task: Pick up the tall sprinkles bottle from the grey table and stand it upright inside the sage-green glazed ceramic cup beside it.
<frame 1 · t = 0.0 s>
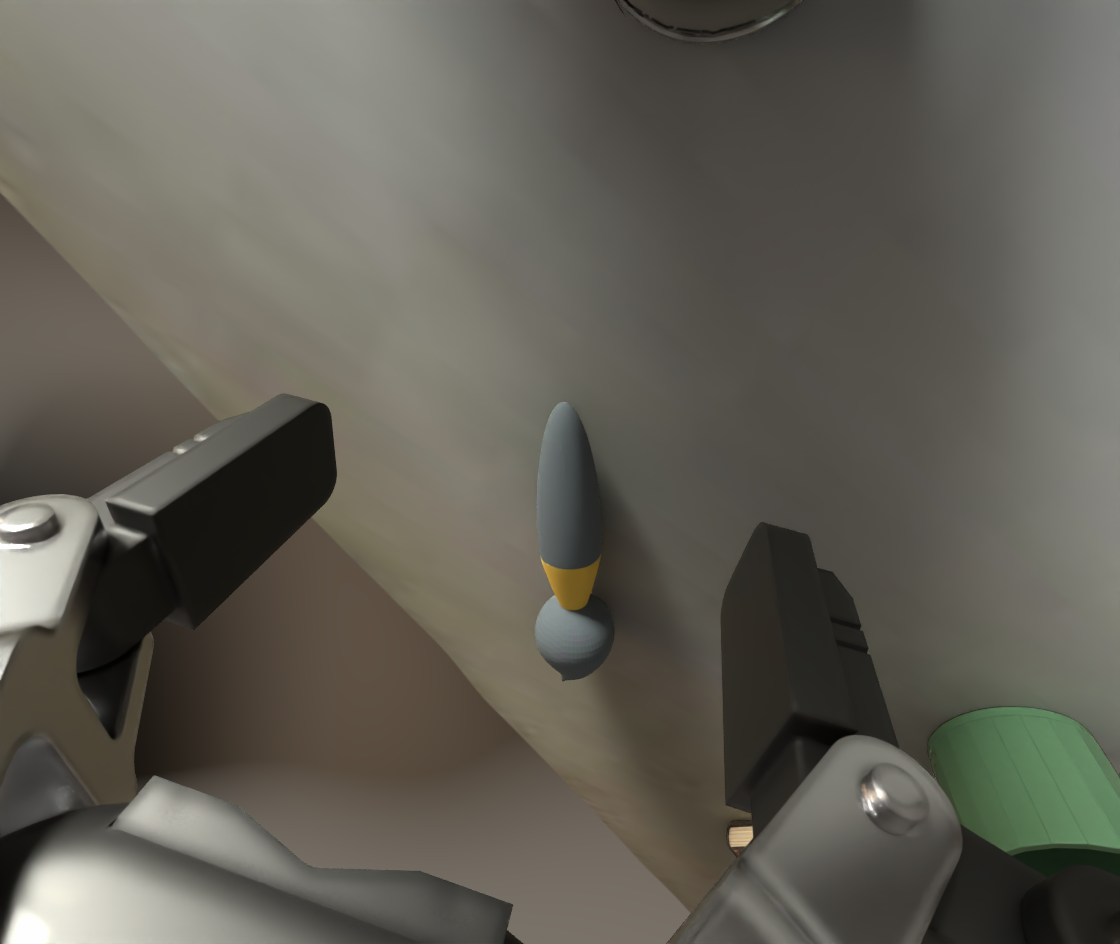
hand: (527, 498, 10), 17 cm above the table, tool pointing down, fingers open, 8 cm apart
hardcover book: (870, 885, 46), on the table
cup: (1007, 750, 34), on the table
paintbrush: (572, 539, 33), on the table
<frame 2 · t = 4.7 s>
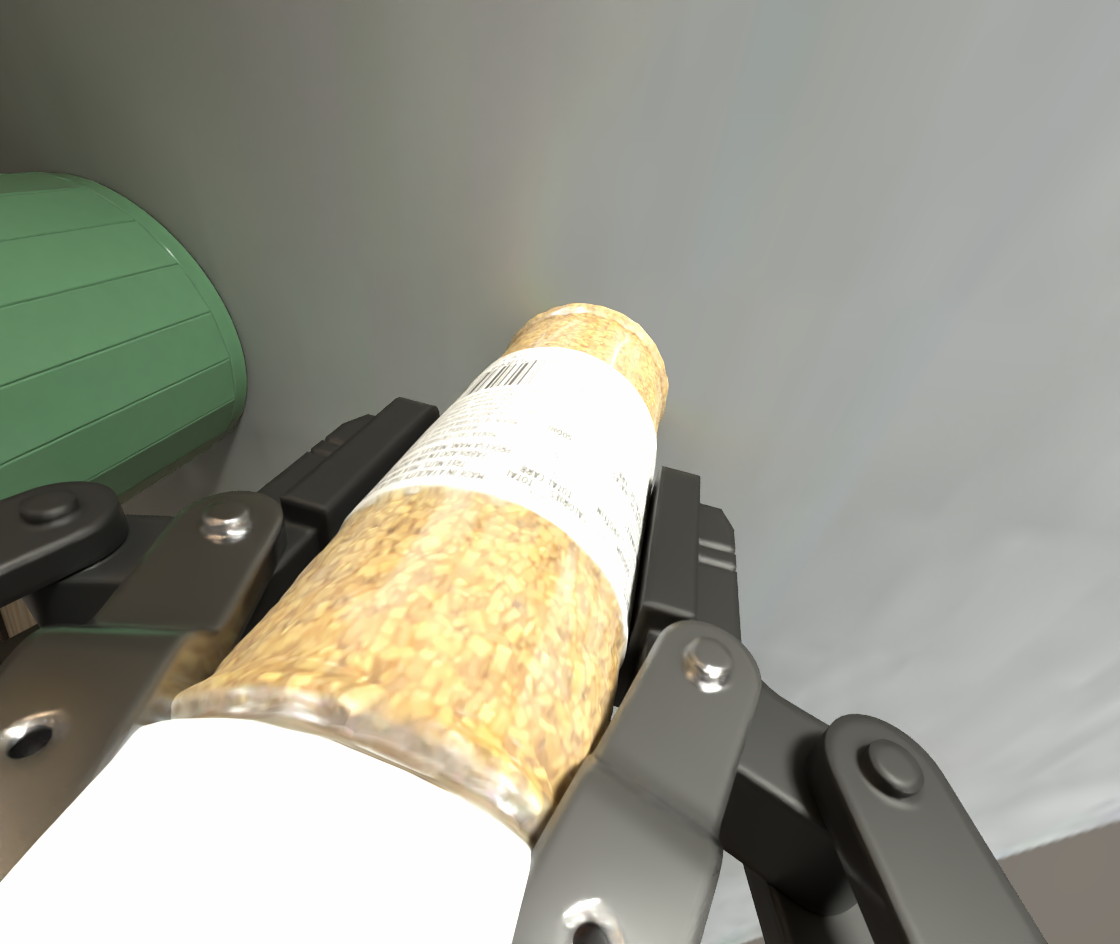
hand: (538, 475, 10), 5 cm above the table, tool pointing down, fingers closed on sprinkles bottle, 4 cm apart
cup: (123, 327, 17), on the table
sprinkles bottle: (587, 379, 15), on the table, touching gripper
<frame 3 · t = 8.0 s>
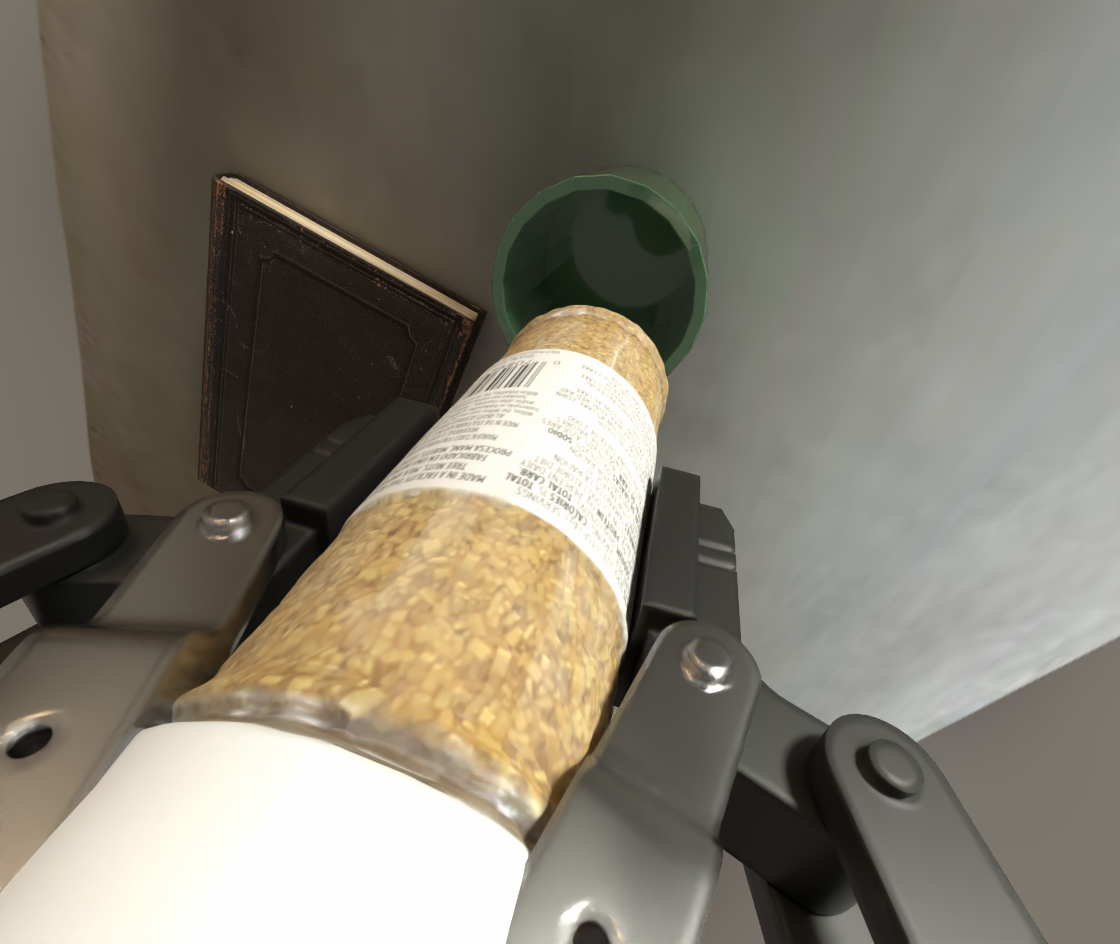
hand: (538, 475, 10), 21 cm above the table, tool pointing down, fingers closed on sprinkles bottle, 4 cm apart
hardcover book: (330, 398, 37), on the table
cup: (620, 262, 28), on the table
sprinkles bottle: (588, 380, 15), point 16 cm above the table, touching gripper
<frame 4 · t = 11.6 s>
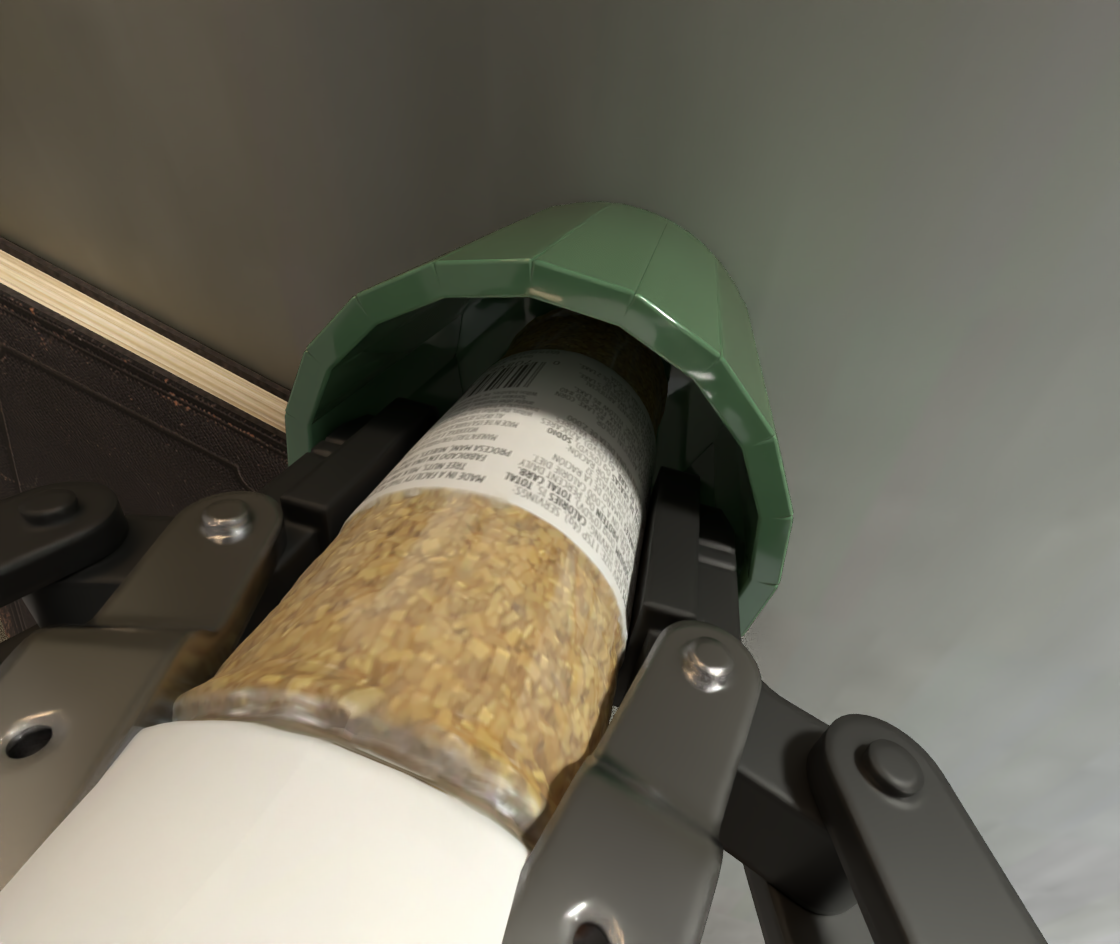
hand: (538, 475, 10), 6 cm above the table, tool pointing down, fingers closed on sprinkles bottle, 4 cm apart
hardcover book: (170, 536, 25), on the table
cup: (592, 370, 15), on the table
sprinkles bottle: (587, 380, 15), point 1 cm above the table, touching gripper
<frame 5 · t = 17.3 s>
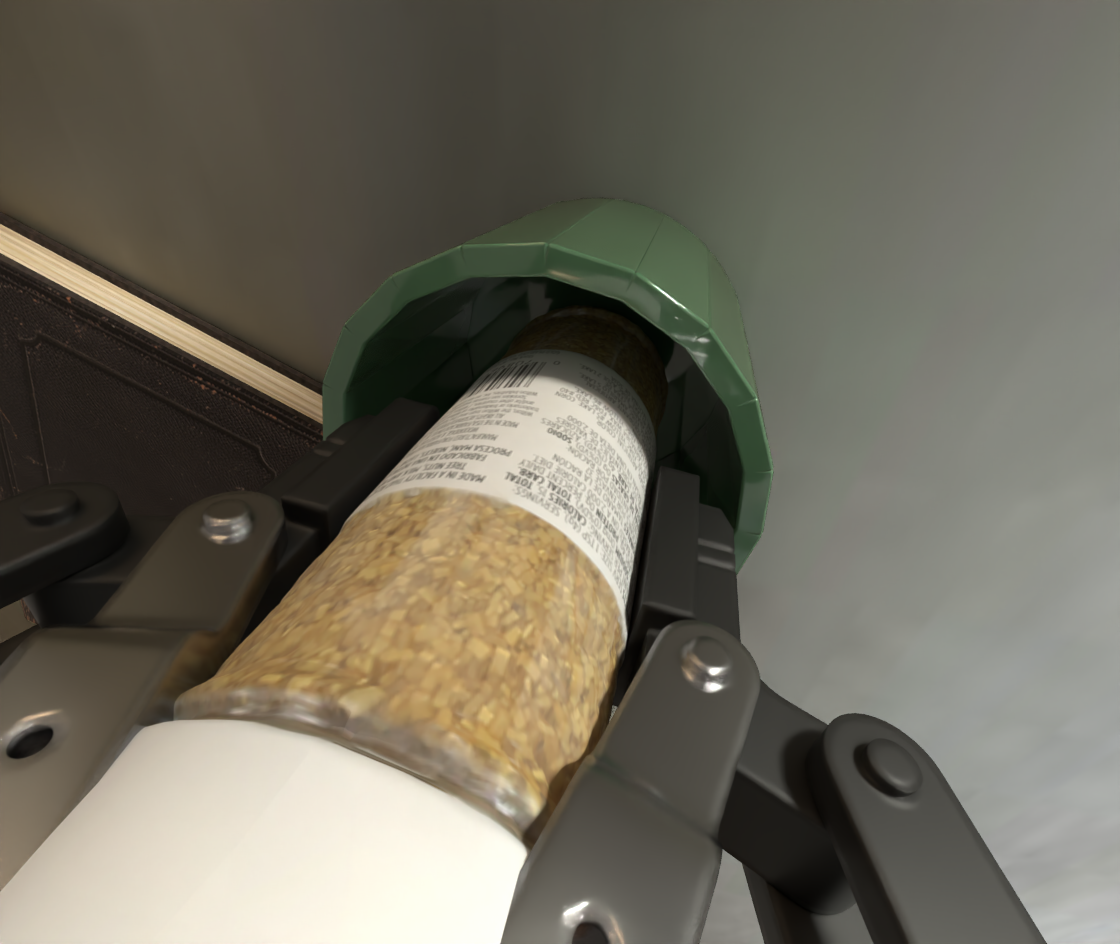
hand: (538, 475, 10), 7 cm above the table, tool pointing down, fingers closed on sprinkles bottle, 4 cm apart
hardcover book: (187, 519, 26), on the table
cup: (594, 355, 16), on the table
sprinkles bottle: (588, 380, 15), point 2 cm above the table, touching gripper
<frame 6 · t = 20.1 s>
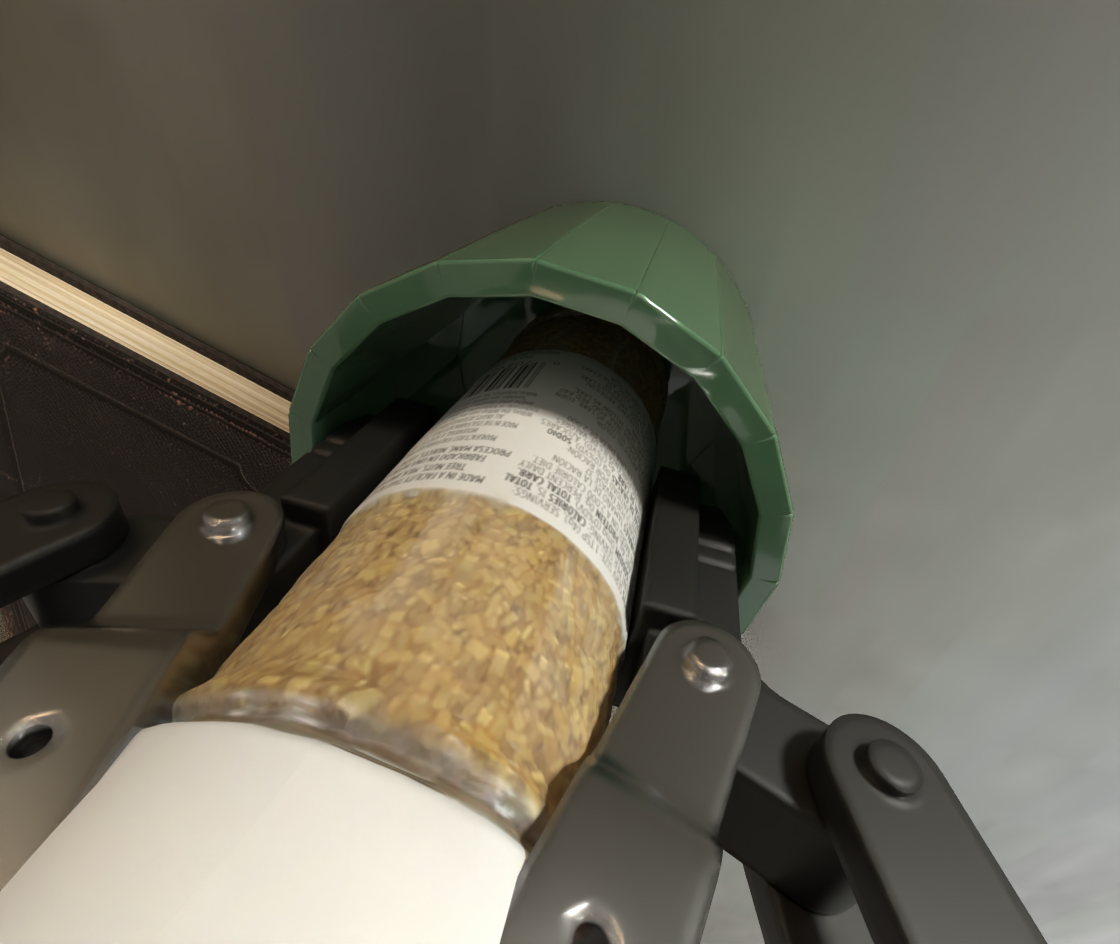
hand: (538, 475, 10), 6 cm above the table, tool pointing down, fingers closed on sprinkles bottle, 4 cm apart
hardcover book: (172, 535, 25), on the table
cup: (593, 369, 15), on the table
sprinkles bottle: (588, 381, 15), point 1 cm above the table, touching gripper
when the fingers open (8 cm above the table, at t = 22.7 s): sprinkles bottle drops 3 cm, resting on cup.
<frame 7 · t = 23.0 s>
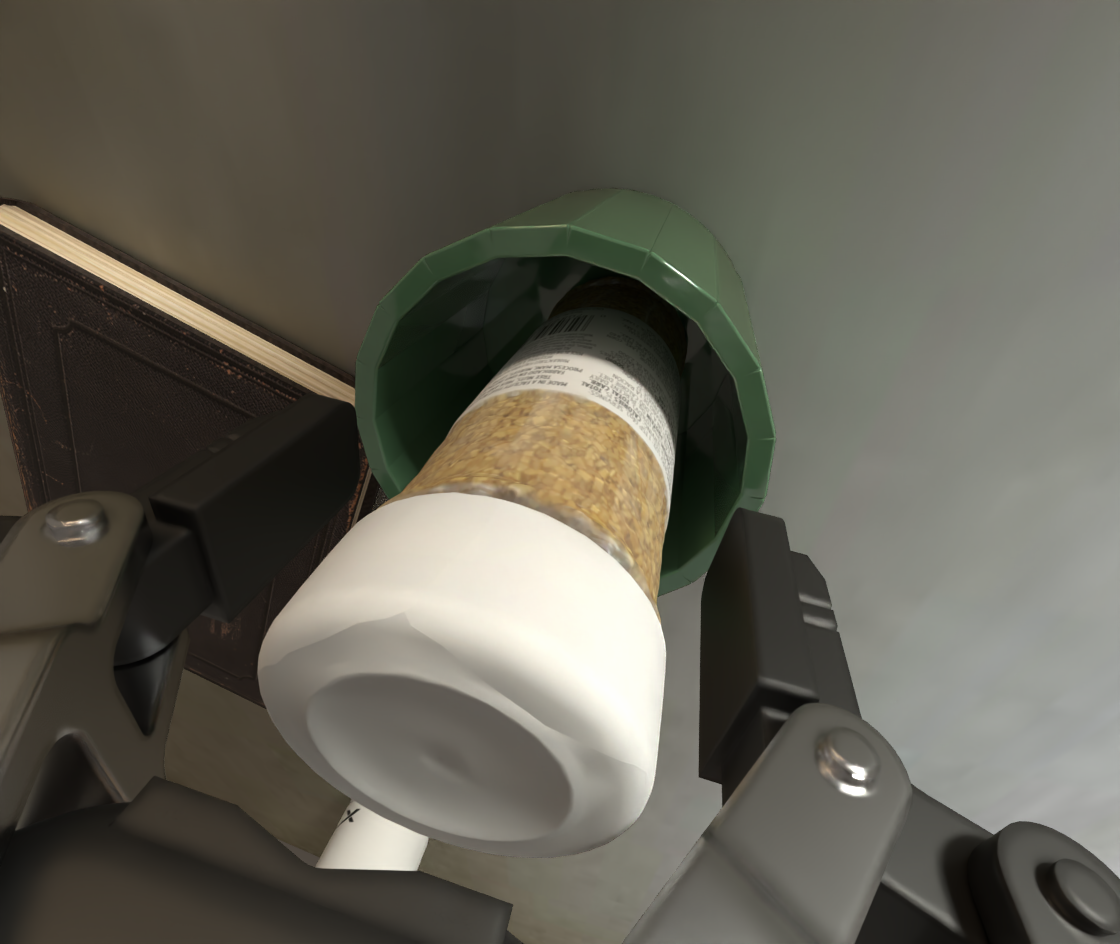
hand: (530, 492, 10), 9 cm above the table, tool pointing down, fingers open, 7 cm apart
hardcover book: (207, 504, 27), on the table
travel mug: (399, 794, 39), on the table
cup: (604, 340, 17), on the table
sprinkles bottle: (616, 344, 17), resting on cup
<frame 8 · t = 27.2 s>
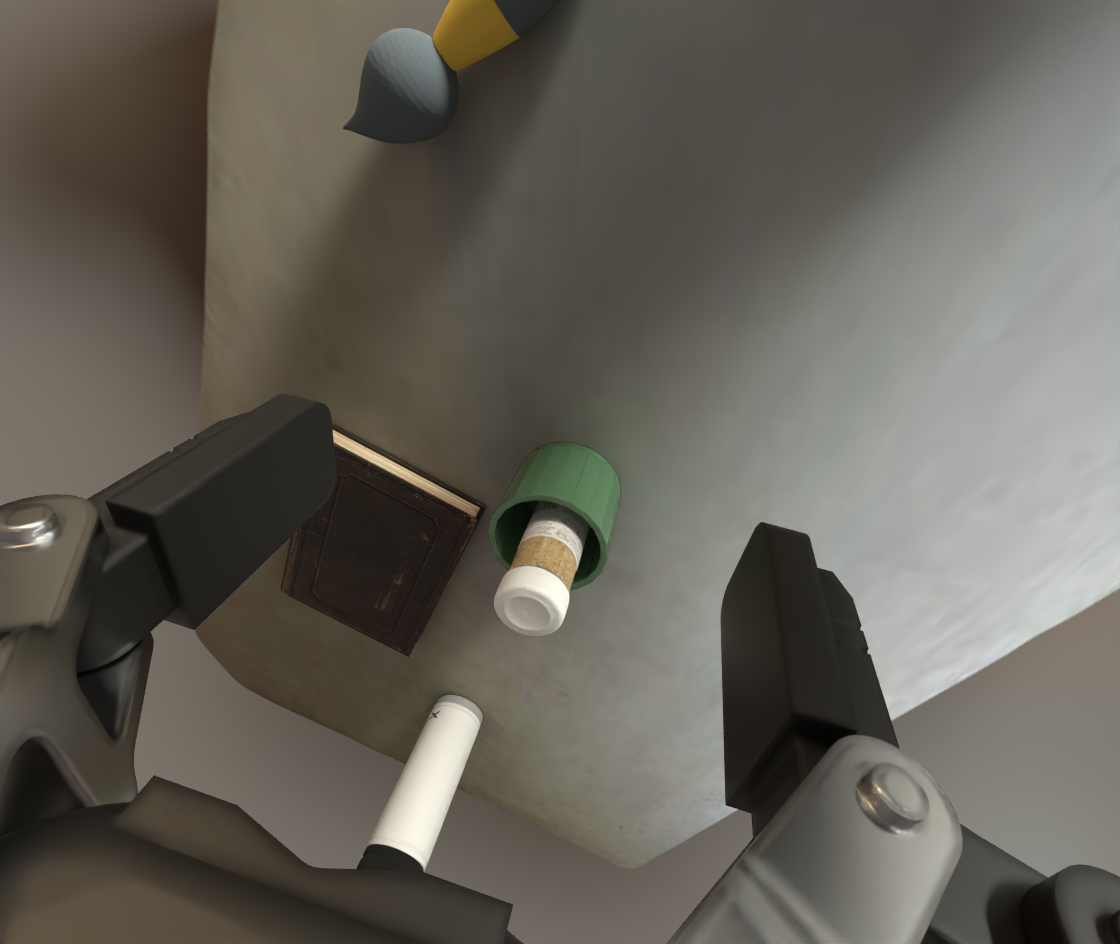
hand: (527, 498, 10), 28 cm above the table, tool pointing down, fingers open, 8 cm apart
hardcover book: (378, 543, 54), on the table
travel mug: (459, 708, 66), on the table
cup: (568, 488, 44), on the table
sprinkles bottle: (573, 491, 44), resting on cup
paintbrush: (492, 14, 29), on the table
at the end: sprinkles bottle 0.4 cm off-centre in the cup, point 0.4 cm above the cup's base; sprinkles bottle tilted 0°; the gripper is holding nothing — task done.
